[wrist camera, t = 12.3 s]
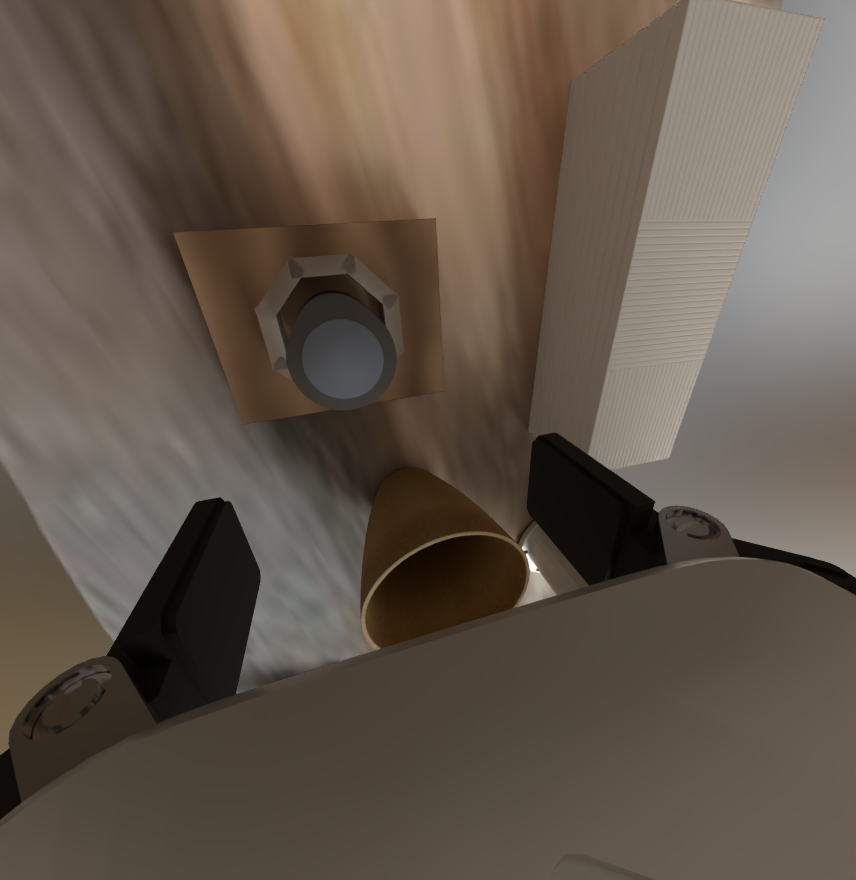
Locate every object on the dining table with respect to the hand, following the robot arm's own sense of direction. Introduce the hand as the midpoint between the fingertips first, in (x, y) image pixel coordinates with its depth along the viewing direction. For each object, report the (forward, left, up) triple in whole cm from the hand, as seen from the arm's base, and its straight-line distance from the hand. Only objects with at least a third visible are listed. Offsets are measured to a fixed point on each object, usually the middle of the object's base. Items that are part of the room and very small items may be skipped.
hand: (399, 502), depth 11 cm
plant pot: (-4, +19, -25) cm, 32 cm away
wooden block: (+1, -2, -25) cm, 25 cm away
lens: (+1, -2, -21) cm, 21 cm away
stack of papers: (-26, -2, -25) cm, 37 cm away
